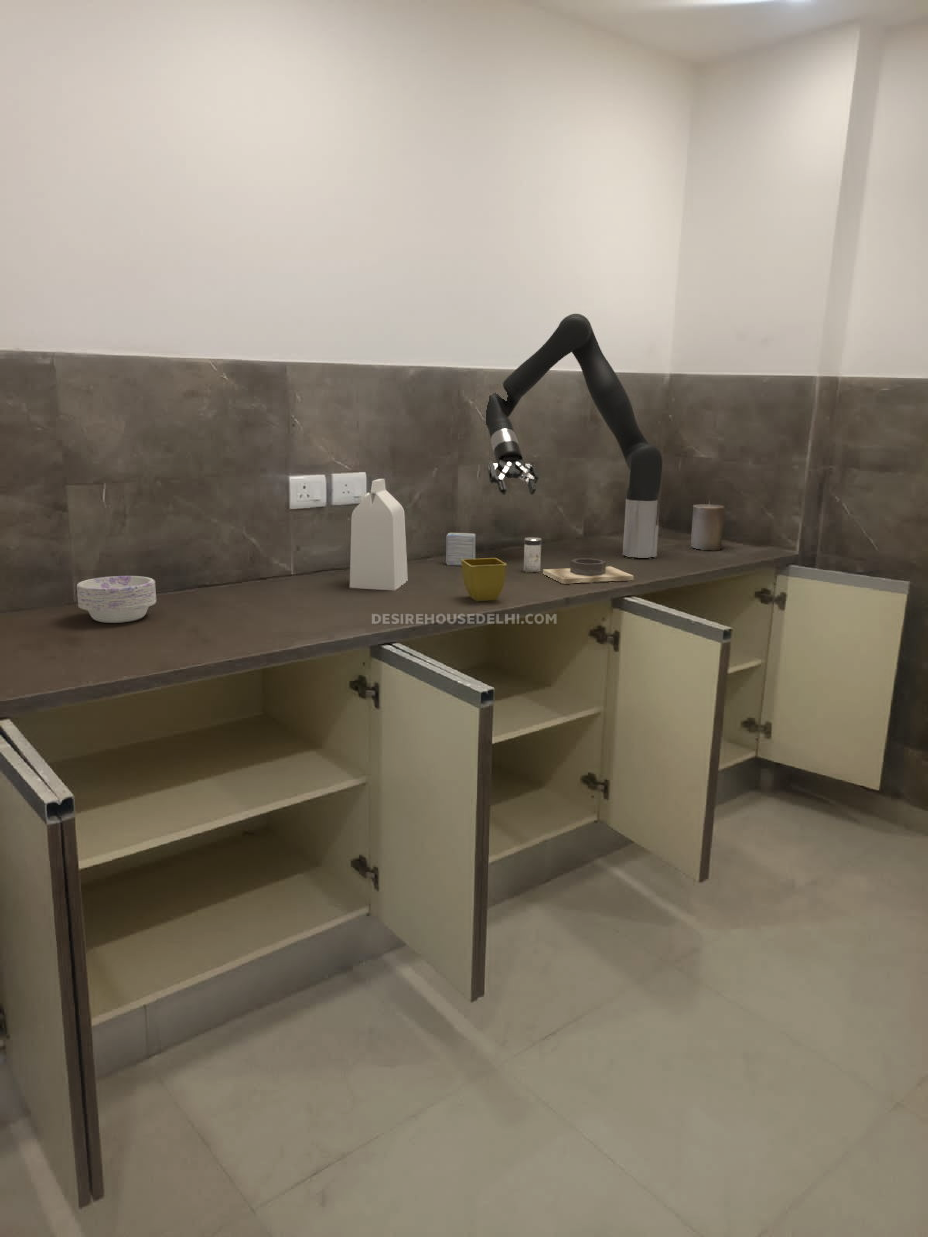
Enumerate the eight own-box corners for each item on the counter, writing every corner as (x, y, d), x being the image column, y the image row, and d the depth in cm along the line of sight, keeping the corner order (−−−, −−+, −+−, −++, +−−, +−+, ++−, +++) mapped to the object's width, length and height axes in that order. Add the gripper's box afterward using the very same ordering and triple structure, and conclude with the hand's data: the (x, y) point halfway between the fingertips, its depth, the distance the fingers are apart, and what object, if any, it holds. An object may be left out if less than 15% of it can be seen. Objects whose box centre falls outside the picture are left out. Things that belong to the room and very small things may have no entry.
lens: (536, 569, 244) (537, 537, 242) (542, 572, 240) (544, 539, 237) (520, 570, 242) (522, 537, 240) (527, 573, 238) (528, 540, 236)
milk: (394, 590, 215) (394, 483, 208) (349, 587, 217) (348, 481, 210) (407, 580, 226) (407, 478, 220) (364, 578, 228) (363, 476, 222)
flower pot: (469, 604, 202) (470, 565, 200) (459, 596, 210) (460, 558, 208) (506, 602, 204) (507, 564, 202) (495, 594, 212) (496, 557, 210)
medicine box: (475, 563, 251) (475, 533, 249) (473, 566, 247) (474, 535, 245) (447, 562, 252) (448, 532, 250) (445, 565, 247) (446, 534, 245)
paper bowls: (132, 606, 195) (129, 570, 193) (171, 617, 185) (169, 580, 183) (65, 618, 183) (61, 581, 181) (103, 631, 174) (100, 592, 172)
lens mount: (610, 571, 242) (611, 555, 241) (633, 581, 230) (634, 564, 229) (542, 574, 236) (543, 558, 235) (562, 584, 224) (563, 567, 223)
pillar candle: (725, 548, 284) (728, 501, 281) (716, 552, 276) (719, 504, 272) (695, 545, 289) (698, 499, 286) (685, 549, 281) (689, 502, 278)
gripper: (486, 439, 249) (498, 484, 241) (533, 439, 253) (546, 484, 246) (479, 456, 255) (491, 501, 248) (525, 457, 260) (538, 500, 252)
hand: (518, 492), depth 247 cm, fingers open, 8 cm apart
